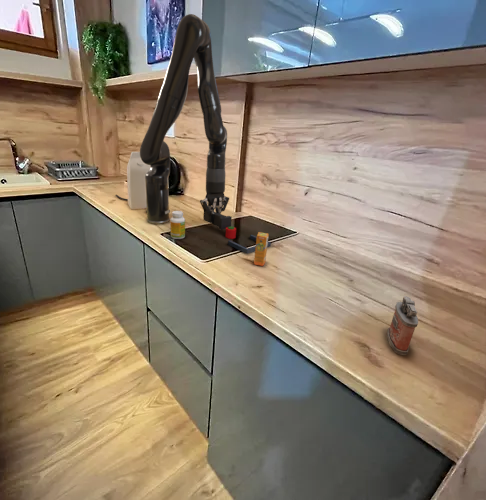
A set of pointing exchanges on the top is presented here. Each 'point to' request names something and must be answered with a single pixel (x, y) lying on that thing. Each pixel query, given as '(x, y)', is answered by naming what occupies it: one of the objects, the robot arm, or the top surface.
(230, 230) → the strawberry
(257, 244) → the supplement box
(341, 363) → the top surface
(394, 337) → the lighter
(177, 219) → the supplement bottle
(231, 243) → the frame
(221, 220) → the matte black brick
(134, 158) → the milk
